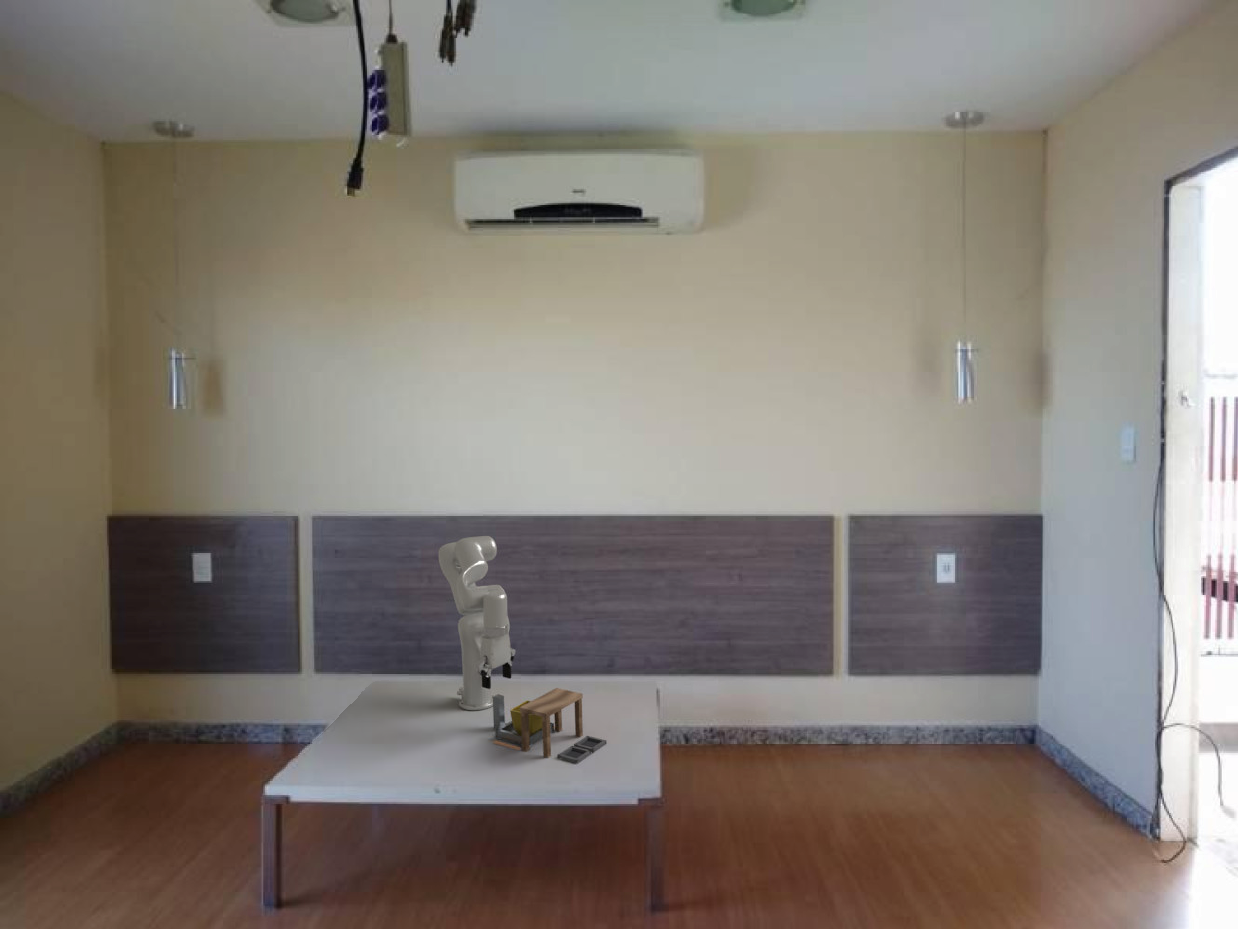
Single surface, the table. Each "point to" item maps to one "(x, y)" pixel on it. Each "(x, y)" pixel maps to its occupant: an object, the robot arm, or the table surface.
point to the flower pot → (534, 720)
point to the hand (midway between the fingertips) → (496, 682)
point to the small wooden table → (545, 709)
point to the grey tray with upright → (510, 725)
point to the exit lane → (508, 744)
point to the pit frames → (582, 749)
